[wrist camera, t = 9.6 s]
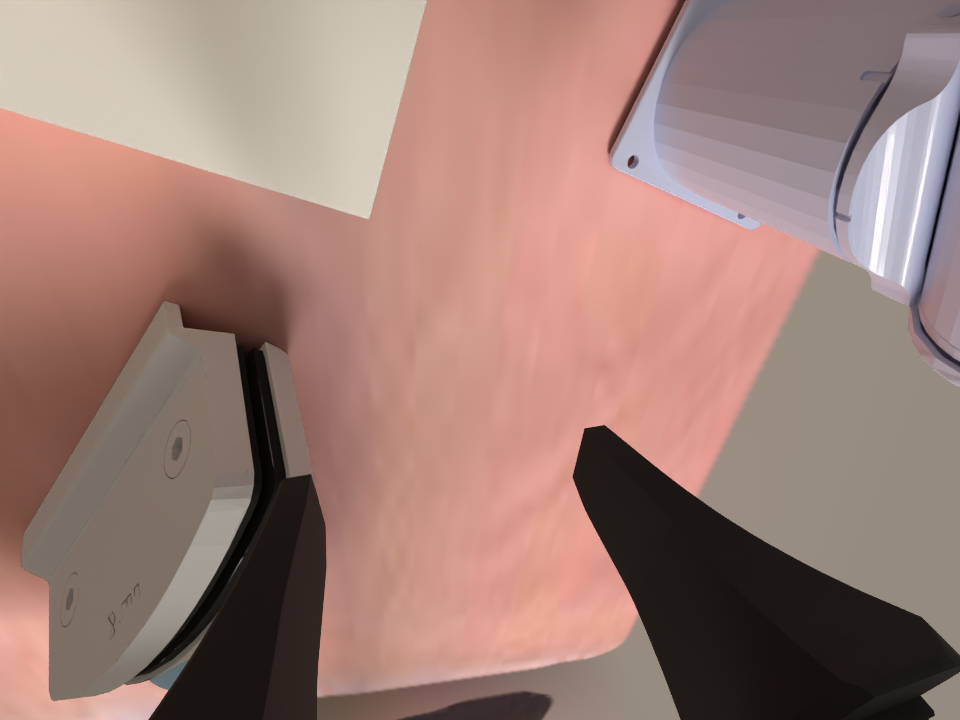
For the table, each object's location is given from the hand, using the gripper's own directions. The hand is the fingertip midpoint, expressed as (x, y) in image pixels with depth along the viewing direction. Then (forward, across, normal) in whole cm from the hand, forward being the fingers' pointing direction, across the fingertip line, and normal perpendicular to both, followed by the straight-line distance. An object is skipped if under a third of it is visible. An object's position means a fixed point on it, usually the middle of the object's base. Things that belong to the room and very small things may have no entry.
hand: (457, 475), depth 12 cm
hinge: (+11, +12, +8) cm, 18 cm away
